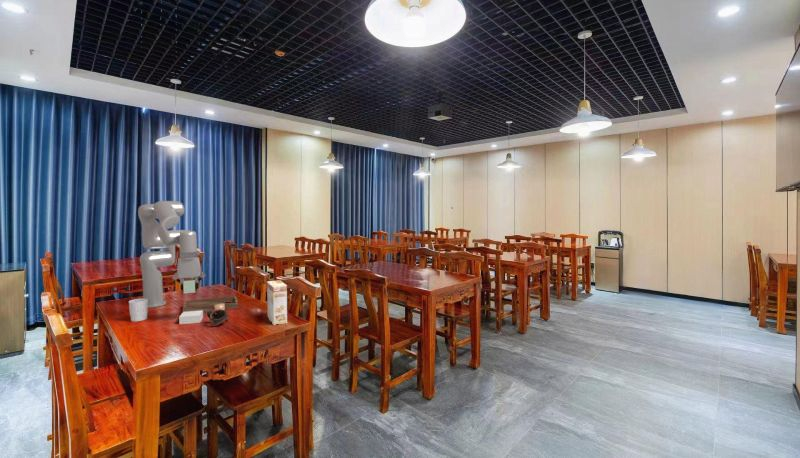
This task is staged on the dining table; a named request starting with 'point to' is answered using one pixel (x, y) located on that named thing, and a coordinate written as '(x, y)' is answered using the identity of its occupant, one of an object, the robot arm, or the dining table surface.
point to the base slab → (191, 317)
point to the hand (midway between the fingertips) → (189, 290)
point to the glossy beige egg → (219, 306)
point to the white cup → (138, 309)
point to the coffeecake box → (277, 302)
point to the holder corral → (208, 302)
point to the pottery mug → (217, 316)
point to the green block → (189, 286)
